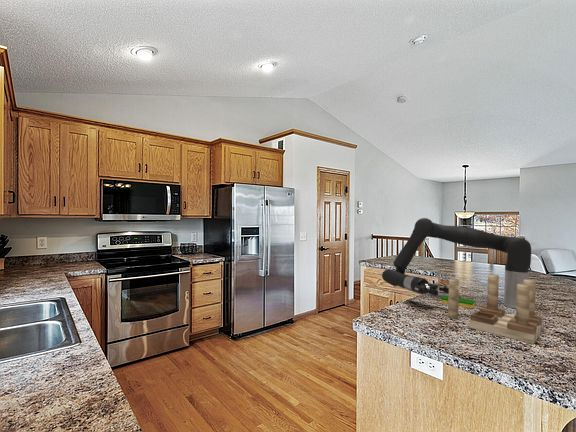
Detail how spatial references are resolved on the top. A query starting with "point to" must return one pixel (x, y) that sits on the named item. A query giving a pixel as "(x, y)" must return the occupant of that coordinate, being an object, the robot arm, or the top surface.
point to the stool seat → (511, 326)
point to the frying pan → (442, 293)
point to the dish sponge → (460, 302)
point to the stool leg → (453, 298)
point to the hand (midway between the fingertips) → (444, 292)
